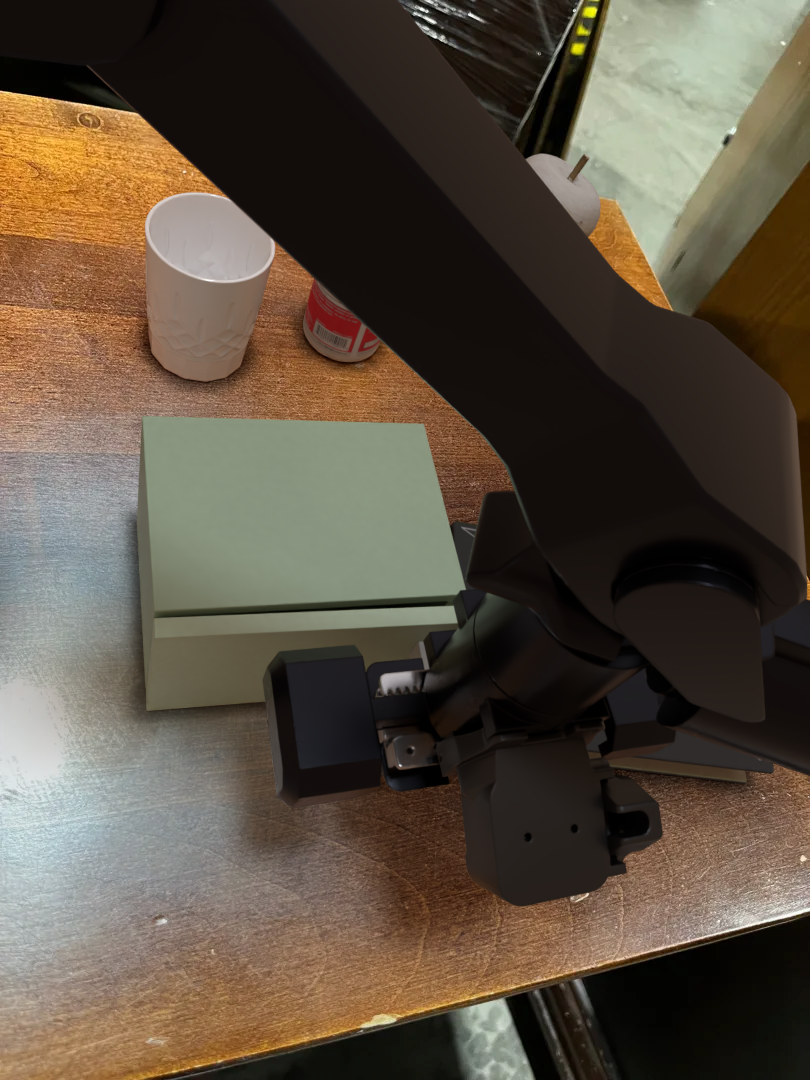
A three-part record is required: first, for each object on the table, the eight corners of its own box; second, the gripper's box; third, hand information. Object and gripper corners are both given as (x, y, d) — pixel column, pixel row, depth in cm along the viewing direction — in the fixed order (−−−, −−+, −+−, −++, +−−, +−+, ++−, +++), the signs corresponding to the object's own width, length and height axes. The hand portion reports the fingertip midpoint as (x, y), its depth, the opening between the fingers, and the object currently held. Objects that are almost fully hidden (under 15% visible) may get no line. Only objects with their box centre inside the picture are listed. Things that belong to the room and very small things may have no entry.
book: (707, 587, 62) (732, 569, 59) (745, 784, 54) (775, 773, 51) (438, 538, 56) (453, 516, 54) (438, 748, 49) (455, 734, 46)
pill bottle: (368, 307, 66) (410, 192, 56) (386, 366, 63) (432, 255, 54) (294, 304, 63) (324, 183, 54) (308, 364, 61) (343, 249, 51)
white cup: (236, 403, 57) (257, 299, 49) (124, 367, 55) (126, 253, 47) (264, 326, 61) (287, 219, 53) (160, 291, 60) (168, 175, 51)
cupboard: (406, 667, 51) (467, 594, 42) (145, 690, 45) (153, 611, 36) (375, 516, 56) (424, 423, 47) (136, 520, 50) (141, 415, 41)
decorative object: (470, 255, 73) (516, 158, 65) (496, 205, 78) (541, 109, 70) (557, 300, 73) (613, 210, 65) (577, 247, 78) (631, 157, 70)
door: (428, 776, 47) (497, 723, 39) (149, 810, 42) (159, 756, 34) (409, 674, 50) (469, 604, 42) (145, 693, 45) (154, 617, 36)
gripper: (339, 923, 24) (269, 958, 37) (828, 822, 30) (621, 883, 43) (288, 583, 29) (243, 719, 42) (716, 558, 35) (561, 683, 48)
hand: (425, 755), depth 43 cm, fingers closed
